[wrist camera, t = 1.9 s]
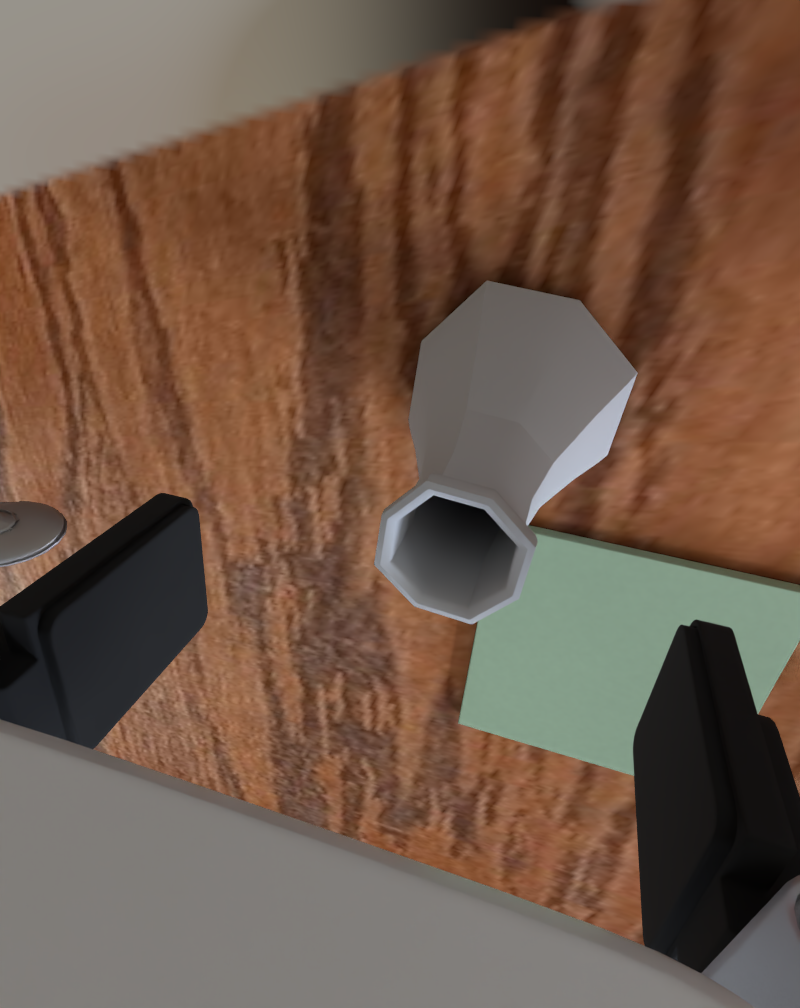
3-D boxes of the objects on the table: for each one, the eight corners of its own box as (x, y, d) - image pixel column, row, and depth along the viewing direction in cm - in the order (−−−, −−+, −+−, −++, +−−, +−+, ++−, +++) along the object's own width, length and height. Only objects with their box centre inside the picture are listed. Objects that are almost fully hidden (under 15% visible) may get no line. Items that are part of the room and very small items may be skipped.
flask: (478, 236, 18) (368, 297, 10) (682, 360, 18) (743, 527, 10) (378, 423, 22) (240, 579, 14) (546, 526, 22) (508, 743, 14)
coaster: (498, 517, 23) (496, 524, 22) (820, 588, 20) (824, 597, 20) (460, 715, 28) (457, 723, 28) (708, 788, 26) (710, 798, 26)
